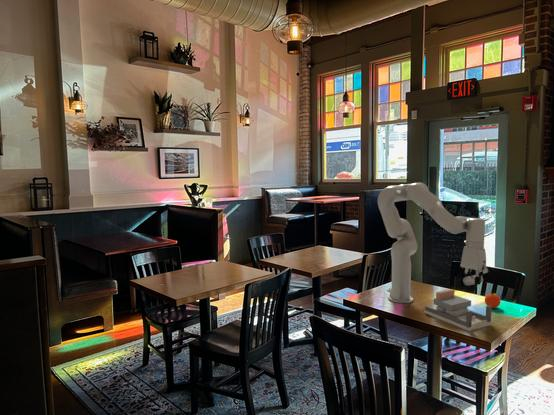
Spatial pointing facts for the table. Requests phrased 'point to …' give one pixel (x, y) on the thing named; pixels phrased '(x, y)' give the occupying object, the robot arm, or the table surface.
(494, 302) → the clementine
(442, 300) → the slab
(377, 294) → the table surface
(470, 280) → the loose roller
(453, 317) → the roller track
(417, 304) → the table surface
